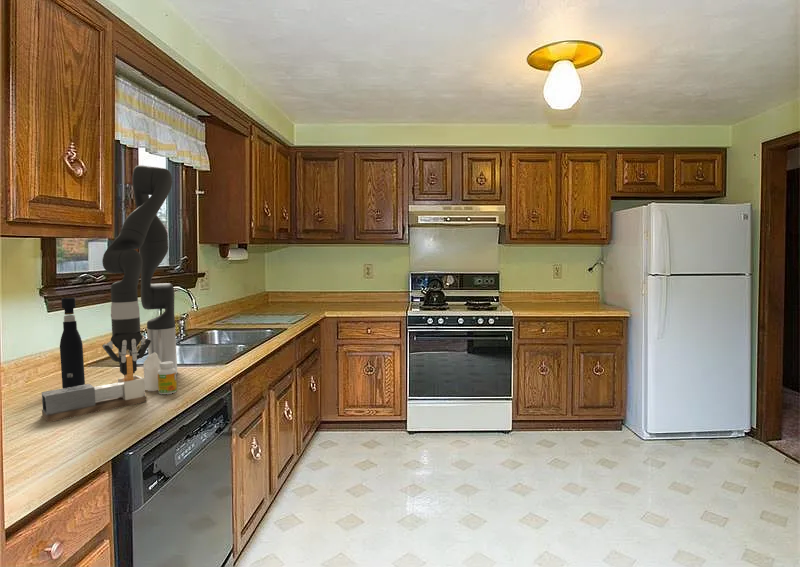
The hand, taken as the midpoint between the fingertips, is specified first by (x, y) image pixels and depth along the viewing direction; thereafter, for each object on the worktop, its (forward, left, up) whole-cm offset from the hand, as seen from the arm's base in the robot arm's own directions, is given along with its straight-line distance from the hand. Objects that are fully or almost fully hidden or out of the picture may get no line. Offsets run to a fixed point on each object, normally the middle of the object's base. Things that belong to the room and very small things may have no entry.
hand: (128, 373), depth 158 cm
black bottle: (-19, -26, -9) cm, 33 cm away
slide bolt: (+3, -4, -6) cm, 8 cm away
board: (+6, -7, -9) cm, 13 cm away
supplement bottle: (-9, +8, -9) cm, 15 cm away
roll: (-14, +2, -9) cm, 16 cm away
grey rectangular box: (+10, -12, -7) cm, 17 cm away
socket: (0, 0, -7) cm, 7 cm away
